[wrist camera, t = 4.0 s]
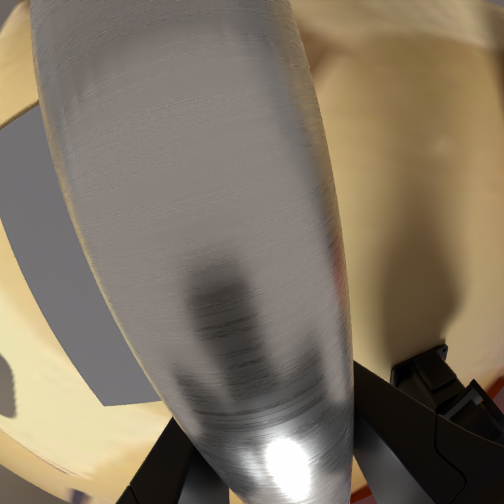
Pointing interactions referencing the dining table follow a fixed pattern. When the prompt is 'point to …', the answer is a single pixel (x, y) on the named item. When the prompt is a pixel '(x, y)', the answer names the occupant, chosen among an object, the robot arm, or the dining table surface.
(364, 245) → the dining table surface
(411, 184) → the dining table surface
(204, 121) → the steel rod
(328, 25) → the dining table surface
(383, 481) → the robot arm
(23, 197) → the grey flat tapered piece
